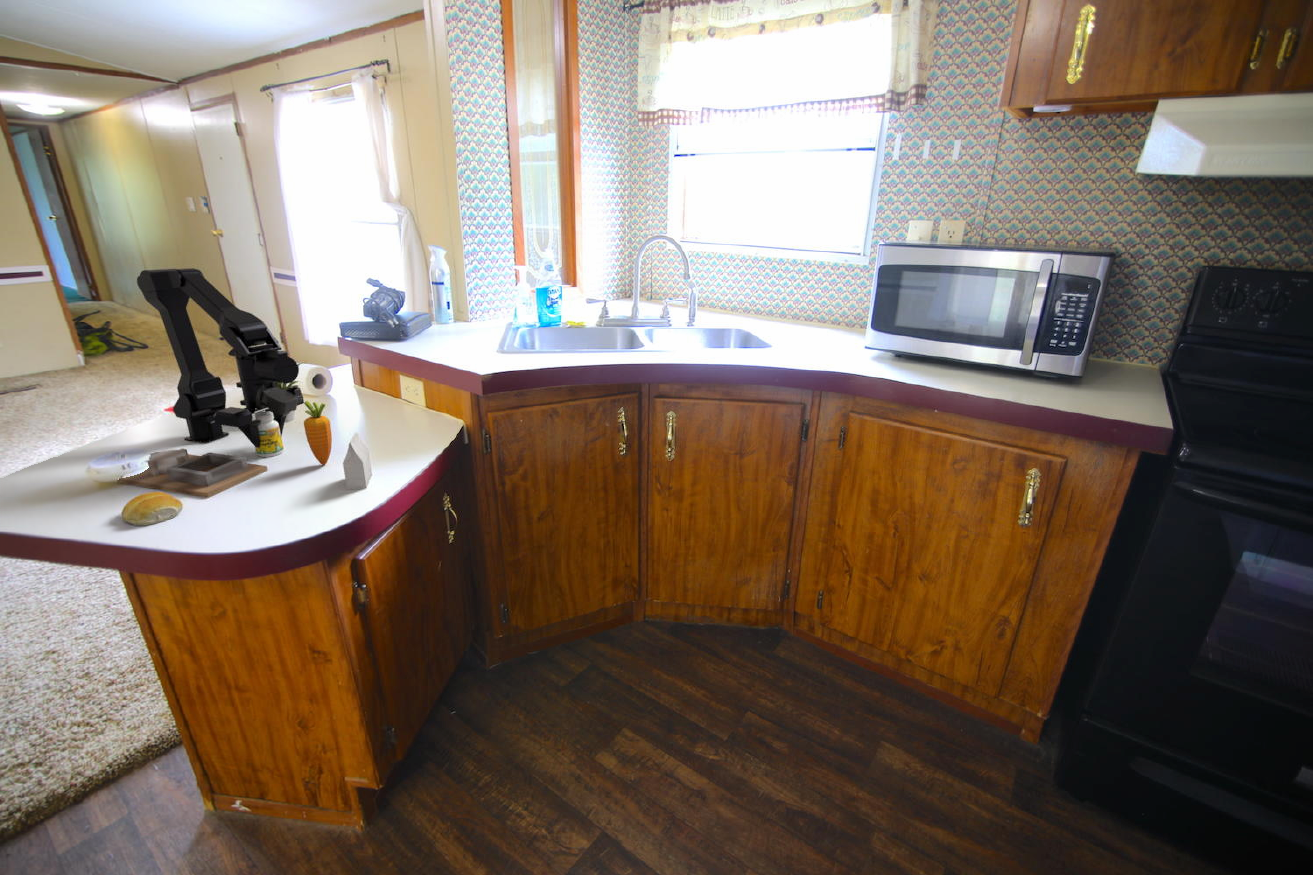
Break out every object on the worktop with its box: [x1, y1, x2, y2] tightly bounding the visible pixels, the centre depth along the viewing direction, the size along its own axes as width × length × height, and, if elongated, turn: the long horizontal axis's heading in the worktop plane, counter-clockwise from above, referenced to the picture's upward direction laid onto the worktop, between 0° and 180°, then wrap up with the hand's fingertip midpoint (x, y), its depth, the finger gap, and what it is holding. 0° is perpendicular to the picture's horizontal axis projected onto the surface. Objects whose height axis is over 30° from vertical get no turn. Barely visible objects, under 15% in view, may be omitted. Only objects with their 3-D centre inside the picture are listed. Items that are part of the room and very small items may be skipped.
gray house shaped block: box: [342, 432, 373, 490], centre depth 123 cm, size 4×7×10 cm, turn 16°
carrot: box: [303, 400, 333, 466], centre depth 129 cm, size 5×5×15 cm
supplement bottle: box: [254, 411, 285, 458], centre depth 135 cm, size 5×5×10 cm
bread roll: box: [121, 491, 184, 526], centre depth 107 cm, size 8×9×4 cm
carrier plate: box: [117, 448, 268, 499], centre depth 123 cm, size 22×14×4 cm, turn 77°
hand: (268, 442), depth 136 cm, fingers closed on supplement bottle, 5 cm apart
